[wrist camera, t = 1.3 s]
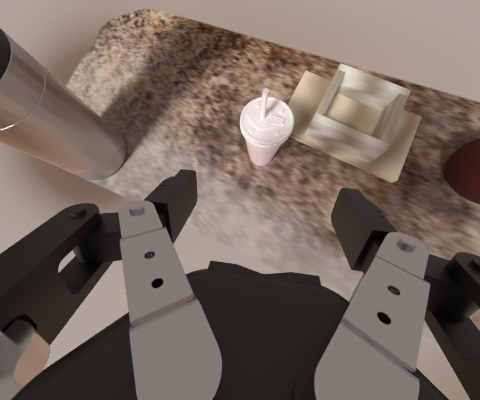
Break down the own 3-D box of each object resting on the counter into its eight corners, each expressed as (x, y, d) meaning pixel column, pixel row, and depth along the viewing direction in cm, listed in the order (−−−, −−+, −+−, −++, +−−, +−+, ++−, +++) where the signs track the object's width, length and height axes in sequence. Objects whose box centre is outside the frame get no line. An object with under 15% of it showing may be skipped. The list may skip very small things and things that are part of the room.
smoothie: (245, 134, 34) (245, 59, 20) (283, 141, 34) (309, 69, 20) (237, 169, 33) (231, 115, 19) (277, 177, 32) (300, 126, 19)
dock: (274, 130, 34) (279, 110, 29) (303, 76, 36) (313, 48, 31) (391, 183, 32) (419, 170, 27) (415, 121, 34) (445, 99, 29)
